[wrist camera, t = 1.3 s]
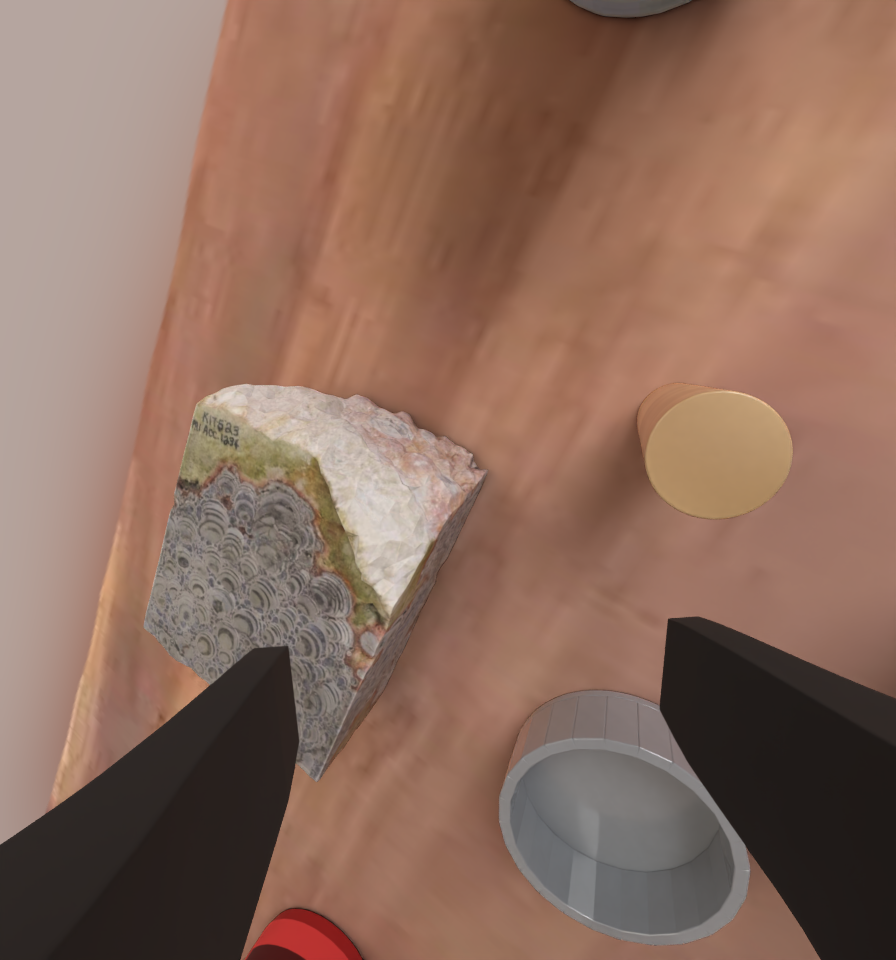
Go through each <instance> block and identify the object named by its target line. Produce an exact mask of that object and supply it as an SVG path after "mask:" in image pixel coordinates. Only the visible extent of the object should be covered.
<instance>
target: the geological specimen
mask: <svg viewBox="0 0 896 960" xmlns="http://www.w3.org/2000/svg"><path fill="white" fill-rule="evenodd" d="M487 473H488V470H486V469H479V468H478V467H477V465H476V464H475V462H474V459H473V454H472V453H469V452H468V451H467V450H466V449H465V448H463V447H461V446H458V445H455V444H454V443H453V442H452V441H451V440H449V439H448V438H447V437H446V436H443V437H436V436H435V435H434V434H432V433H431V432H429V431H427V430H425V429H419V428H417V427H416V425H415V424H414V422H413V420H412V418H411V416H410V415H409V414H407V413H405V412H403V411H401V412H397V413H391V412H389V411H387V410H385V409H383V408H379V407H378V406H377V405H376V404H374V403H373V402H372V401H371V400H370V399H368V398H366V397H363V396H361V395H358V394H355V395H354V396H352V397H350V398H348V399H344V398H341V397H336V396H334V395H328V394H324V393H321V392H319V391H316V390H313V389H311V388H307V387H302V386H290V387H282V386H275V385H250V384H243V385H237V386H231V387H227V388H224V389H221V390H220V391H218V392H216V393H215V394H212V395H209V396H207V397H205V398H204V399H202V400H201V401H200V402H198V403H197V405H196V408H195V412H194V415H193V419H192V424H191V428H190V432H189V436H188V440H187V444H186V448H185V452H184V456H183V460H182V464H181V468H180V472H179V476H178V480H177V485H176V489H175V493H174V505H173V507H172V509H171V511H170V515H169V519H168V523H167V527H166V532H165V536H164V541H163V545H162V549H161V554H160V558H159V562H158V566H157V571H156V575H155V579H154V583H153V587H152V592H151V596H150V600H149V603H148V607H147V611H146V616H145V622H144V628H145V629H146V630H147V631H148V632H150V633H151V634H152V635H154V636H155V637H156V639H157V640H158V642H159V643H160V644H161V645H162V646H164V648H165V649H166V651H167V652H168V653H169V655H170V656H171V657H173V658H174V659H175V660H177V661H178V662H180V663H182V664H184V665H186V666H188V667H190V668H192V669H193V670H194V671H195V672H196V674H197V675H198V676H199V677H201V678H202V679H204V680H205V681H206V682H207V683H208V684H209V685H211V684H212V683H213V682H214V681H216V680H217V679H218V678H219V677H220V676H221V675H222V674H224V673H225V672H226V671H227V670H228V669H229V668H231V667H232V666H233V665H234V664H235V663H236V662H238V661H239V660H240V659H241V658H242V657H243V656H245V655H246V654H247V653H248V652H250V651H251V650H252V649H254V648H263V647H277V646H288V647H289V655H290V664H291V673H292V681H293V690H294V699H295V707H296V716H297V724H298V733H299V746H298V752H297V758H296V764H297V765H299V766H300V767H301V768H302V769H303V770H304V771H305V772H306V773H307V774H308V775H309V776H310V777H311V778H312V779H313V780H315V781H316V782H317V781H319V780H320V779H321V777H322V776H323V774H324V773H325V771H326V769H327V768H328V767H329V765H330V764H331V762H332V761H333V760H334V758H335V757H336V756H337V755H338V753H339V752H340V751H341V750H342V749H343V748H344V747H345V745H346V744H347V742H348V741H349V739H350V738H351V736H352V734H353V733H354V731H355V730H356V729H357V728H358V727H359V725H360V724H361V722H362V721H363V720H364V718H365V717H366V716H367V714H368V713H369V711H370V710H371V709H372V707H373V706H374V704H375V703H376V701H377V700H378V698H379V697H380V696H381V694H382V693H383V691H384V689H385V687H386V684H387V682H388V680H389V678H390V676H391V674H392V672H393V670H394V667H395V665H396V662H397V660H398V659H399V657H400V655H401V653H402V652H403V650H404V647H405V645H406V643H407V641H408V639H409V637H410V634H411V631H412V629H413V627H414V625H415V623H416V621H417V619H418V615H419V613H420V611H421V609H422V608H423V606H424V604H425V602H426V600H427V598H428V595H429V593H430V591H431V589H432V588H433V586H434V584H435V582H436V575H437V572H438V570H439V569H440V567H441V566H442V565H443V563H444V562H445V561H446V559H447V557H448V555H449V553H450V551H451V549H452V547H453V545H454V543H455V541H456V539H457V537H458V535H459V533H460V531H461V529H462V527H463V524H464V522H465V520H466V518H467V516H468V514H469V512H470V510H471V508H472V506H473V504H474V502H475V499H476V497H477V495H478V493H479V491H480V489H481V487H482V484H483V482H484V479H485V477H486V475H487Z"/></svg>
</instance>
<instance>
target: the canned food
mask: <svg viewBox="0 0 896 960" xmlns="http://www.w3.org/2000/svg"><path fill="white" fill-rule="evenodd" d="M245 960H362V958H361V956H360V954H359V952H358V951H357V949H356V948H355V946H354V945H353V944H352V942H351V941H350V940H349V939H348V937H347V936H346V935H345V934H344V933H343V932H342V931H341V930H340V929H339V928H337V927H336V926H335V925H334V924H333V923H331V922H330V921H328V920H327V919H325V918H324V917H322V916H320V915H318V914H316V913H314V912H311V911H307V910H304V909H290V910H286V911H284V912H282V913H280V914H279V915H278V916H277V917H276V918H275V919H274V920H273V921H272V922H271V923H270V924H269V925H268V926H267V927H266V928H265V930H264V931H263V933H262V934H261V936H260V937H259V939H258V940H257V942H256V943H255V945H254V946H253V948H252V949H251V951H250V953H249V954H248V956H247V957H246V959H245Z"/></svg>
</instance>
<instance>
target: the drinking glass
mask: <svg viewBox="0 0 896 960" xmlns="http://www.w3.org/2000/svg"><path fill="white" fill-rule="evenodd" d="M570 1H571V2H573V3H574V4H576V5H577V6H579V7H582V8H584V9H586V10H588V11H591V12H593V13H596V14H599V15H602V16H609V17H625V18H628V17H642V16H648V15H653V14H658V13H662V12H664V11H667V10H670V9H672V8H675V7H678V6H680V5H683V4H685V3H688V2H690V1H692V0H570Z"/></svg>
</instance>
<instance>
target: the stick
mask: <svg viewBox="0 0 896 960" xmlns="http://www.w3.org/2000/svg"><path fill="white" fill-rule="evenodd" d="M637 428H638V433H639V438H640V443H641V448H642V453H643V458H644V463H645V468H646V472H647V475H648V478H649V481H650V483H651V485H652V486H653V488H654V490H655V491H656V492H657V494H658V495H659V496H660V497H661V498H662V499H663V500H664V501H665V502H666V503H667V504H669V505H670V506H672V507H673V508H674V509H676V510H678V511H680V512H682V513H685V514H687V515H690V516H693V517H697V518H703V519H728V518H733V517H737V516H740V515H744V514H746V513H749V512H751V511H753V510H755V509H757V508H758V507H760V506H762V505H763V504H764V503H766V502H767V501H768V500H770V499H771V498H772V497H773V496H774V495H775V494H776V493H777V491H778V490H779V489H780V488H781V486H782V485H783V483H784V481H785V480H786V478H787V476H788V473H789V470H790V467H791V463H792V455H793V448H792V440H791V436H790V433H789V431H788V428H787V426H786V424H785V423H784V421H783V419H782V418H781V417H780V416H779V414H778V413H777V412H776V411H775V410H774V409H773V408H772V407H770V406H769V405H768V404H766V403H765V402H763V401H762V400H760V399H758V398H756V397H754V396H751V395H748V394H745V393H742V392H736V391H730V390H724V389H718V388H711V387H705V386H699V385H692V384H686V383H672V384H667V385H664V386H662V387H659V388H658V389H656V390H654V391H653V392H652V393H650V394H649V395H648V396H647V397H646V398H645V400H644V401H643V402H642V404H641V406H640V408H639V411H638V414H637Z"/></svg>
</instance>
